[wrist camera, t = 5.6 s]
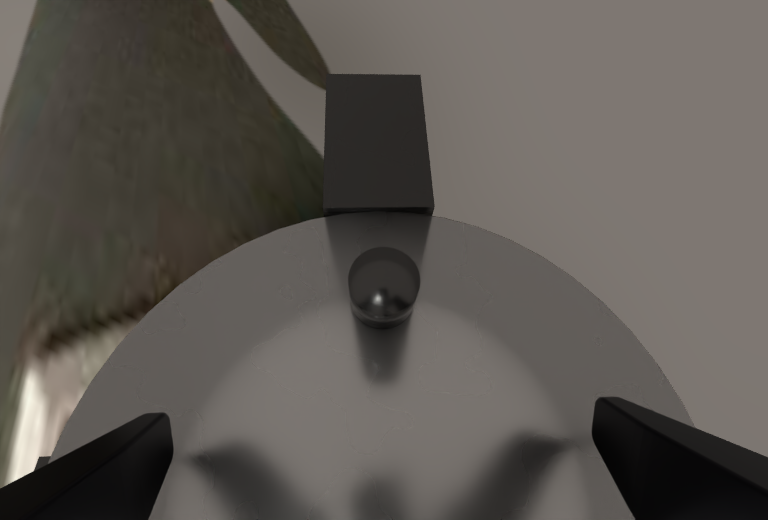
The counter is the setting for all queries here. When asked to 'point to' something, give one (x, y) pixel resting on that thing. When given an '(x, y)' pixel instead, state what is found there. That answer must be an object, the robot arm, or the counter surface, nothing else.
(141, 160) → the counter surface
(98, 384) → the cooker lid
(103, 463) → the robot arm
